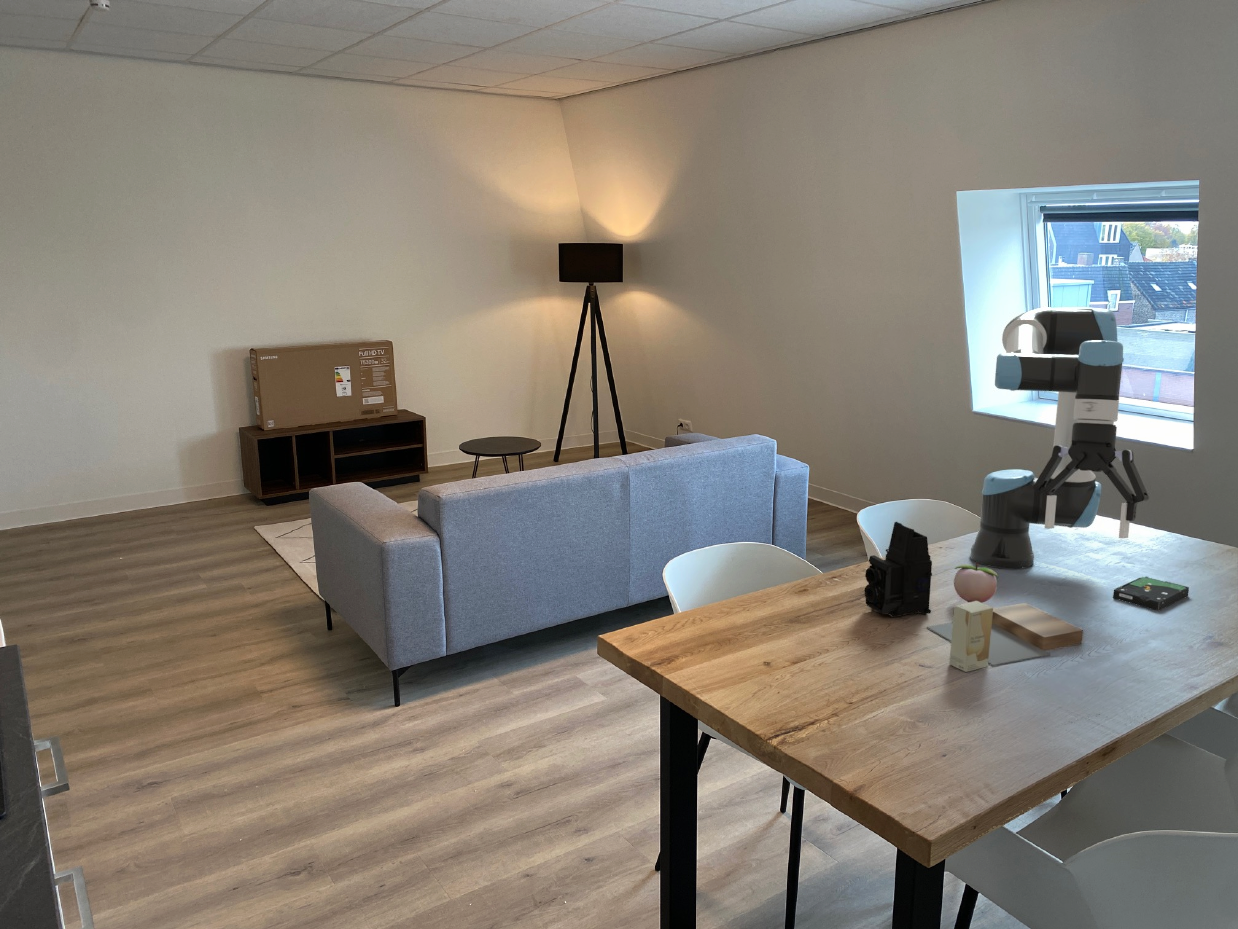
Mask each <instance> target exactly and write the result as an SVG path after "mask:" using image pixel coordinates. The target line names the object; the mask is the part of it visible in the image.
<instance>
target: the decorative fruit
mask: <svg viewBox="0 0 1238 929" xmlns="http://www.w3.org/2000/svg"><path fill="white" fill-rule="evenodd" d="M978 564H979V563H978V562H976V563H975V566H973V565H971V564H960V565H958V566H955V568H954V570H957V569H959V570H957V572H956V573H955V575H954V578H953V587H954V590H955V592H956V594H957V595H958V597H959V598H960V599H962V600H963V601H966V603H969V602H973V601H979V602H981V603H984V602H987V601H989V600H990V599H991V598H992V597H993V596H994V595H995V593H996V591H997V589H998V588H997V587H998V586H997V585H998V582H997V578H999V575H998V574H997V572H995V571H994V570H993V569H991V568H988V567H978ZM996 577H997V578H996Z"/></svg>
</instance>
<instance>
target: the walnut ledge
mask: <svg viewBox="0 0 1238 929" xmlns="http://www.w3.org/2000/svg"><path fill="white" fill-rule="evenodd" d="M992 624H994V625H996V626H998V627H1000V628H1002V629H1004V630H1006V631H1008V632H1010V633H1011V634H1013V635H1015V636H1017V637H1019V638H1021V639H1023V640H1025V641H1027V642H1029V643H1031V644H1033V645H1035V646H1036V647H1038V648H1040V649H1042V650H1044V651H1046V652H1048V651H1051V650H1057V649H1061V648H1068V647H1072V646H1077V645H1082V644H1083V638H1084V637H1083V635H1084V629H1083V628H1080V627H1078V626H1076V625H1073V624H1071V623H1069V622H1067V621H1065V620H1063V619H1060V618H1058V617H1056V616H1054V615H1052V614H1050V613H1048V612H1045V611H1044V610H1041V609H1039V608H1037V607H1035V606H1033V605H1031V604H1029V603H1026V602H1022V603H1016V604H1011V605H1010V604H1009V605H1005V606H999V607H993V616H992Z"/></svg>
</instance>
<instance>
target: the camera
mask: <svg viewBox="0 0 1238 929" xmlns="http://www.w3.org/2000/svg"><path fill="white" fill-rule="evenodd" d="M928 541H929V540H928V537H927V536H926V535H923V534H922V533H920V532H918V531H917V532H916V531H915V529H914V528H913V529H912V528H911V527H907V526H905V525H903V524H902V523H901V522H898V521H894V523H893V528H892V533H891V538H890V541H889V546H888V548H886V549H885V552H886V554H885V559H882V558H880V557H879V556H876V555H875V554H874V555H870V556H869V559H868V562H869V567H867V568H866V570H865V576H864V577H865V580H866V582H867V583H868V584H866V586H865V588H864V596H865V604H866V606H867V607H868V608H870V609H872V610H873V611H874V612H875V611H876V612H877V613H879V614H881V615H885V614H887V615H889V616H890V617H892V618H895V617H899V616H900V617H903V616H905V615H909V614H916V613H921V614H923V615H924V616H926V615H927V614H928V615H929V614H931V613H932V610H931V609H930V596H931V583H932V582H931V581H932V576H933V573H932V568H933V561H932V560H931V555H930V554H929V545H928V544H929V543H928Z"/></svg>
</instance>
